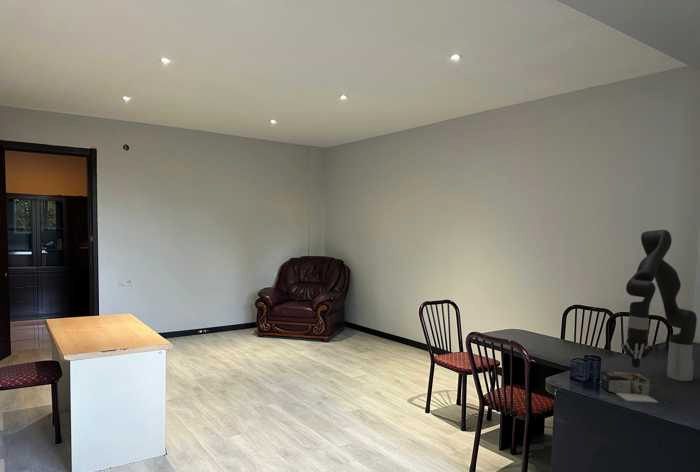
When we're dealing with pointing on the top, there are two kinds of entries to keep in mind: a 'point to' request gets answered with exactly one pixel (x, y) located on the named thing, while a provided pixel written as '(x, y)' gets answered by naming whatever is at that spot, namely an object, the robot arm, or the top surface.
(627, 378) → the coffee box
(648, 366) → the top surface
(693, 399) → the top surface
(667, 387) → the top surface
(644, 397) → the mat
